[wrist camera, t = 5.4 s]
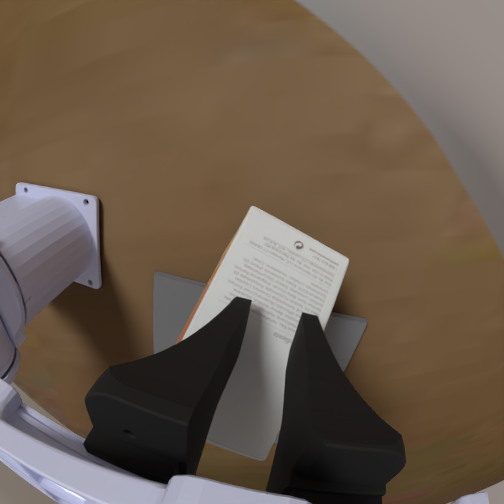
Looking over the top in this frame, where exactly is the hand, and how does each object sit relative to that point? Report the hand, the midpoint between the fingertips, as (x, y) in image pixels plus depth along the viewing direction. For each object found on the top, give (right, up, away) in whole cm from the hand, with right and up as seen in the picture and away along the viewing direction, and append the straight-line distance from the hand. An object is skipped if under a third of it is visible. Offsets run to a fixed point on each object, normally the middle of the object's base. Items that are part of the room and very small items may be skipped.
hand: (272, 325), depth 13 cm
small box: (+1, +3, +6) cm, 7 cm away
